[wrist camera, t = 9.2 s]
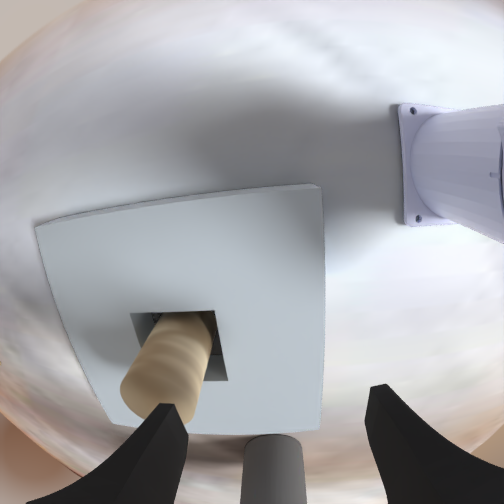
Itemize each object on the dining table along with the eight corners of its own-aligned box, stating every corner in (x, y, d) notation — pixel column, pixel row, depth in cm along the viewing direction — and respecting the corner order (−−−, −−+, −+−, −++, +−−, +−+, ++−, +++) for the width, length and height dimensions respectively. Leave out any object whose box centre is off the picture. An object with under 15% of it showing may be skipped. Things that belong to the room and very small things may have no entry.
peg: (212, 297, 20) (185, 376, 12) (220, 345, 21) (201, 429, 13) (157, 299, 20) (109, 369, 12) (169, 345, 21) (133, 422, 13)
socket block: (312, 183, 17) (321, 187, 14) (315, 403, 22) (319, 429, 19) (59, 217, 18) (34, 227, 15) (123, 402, 24) (112, 423, 21)
